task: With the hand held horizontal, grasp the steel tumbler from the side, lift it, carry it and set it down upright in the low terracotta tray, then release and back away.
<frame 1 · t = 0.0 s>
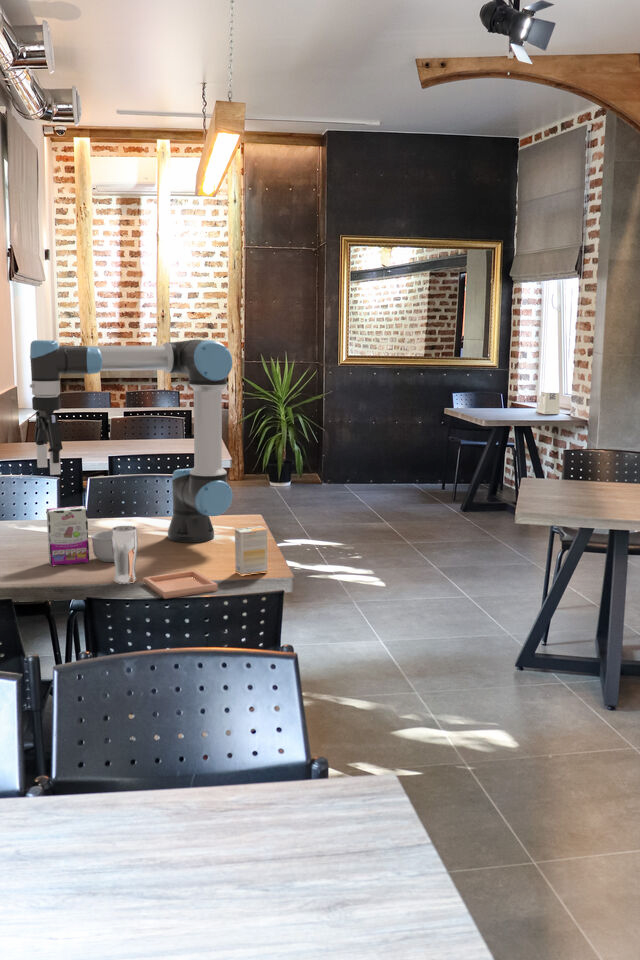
hand: (48, 470, 256), 28 cm above the table, tool pointing down, fingers open, 13 cm apart
supplement box: (251, 573, 257), on the table
candy bar box: (68, 563, 265), on the table
steel tumbler: (125, 582, 247), on the table
teacup: (113, 559, 271), on the table
tray: (180, 587, 243), on the table
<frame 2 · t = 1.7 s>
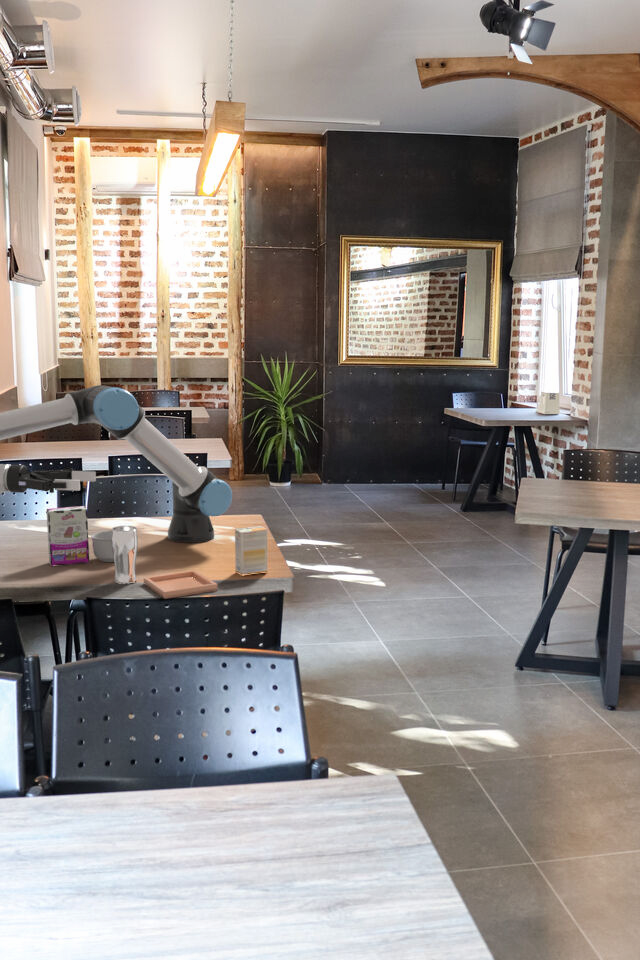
hand: (87, 480, 243), 28 cm above the table, tool horizontal, fingers open, 13 cm apart
nothing on the table moved.
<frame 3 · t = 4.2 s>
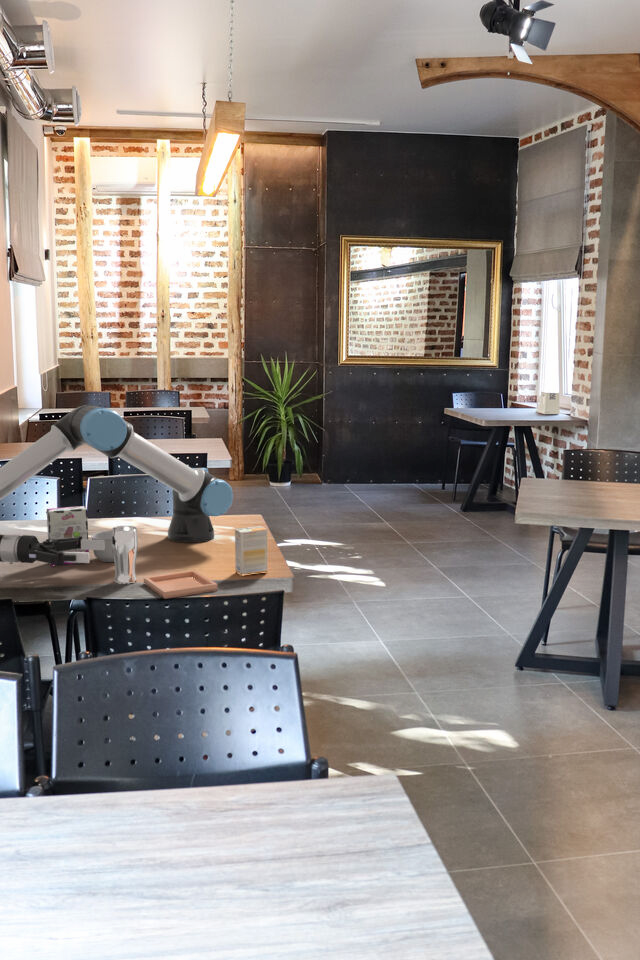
hand: (96, 551, 246), 8 cm above the table, tool horizontal, fingers open, 13 cm apart
nothing on the table moved.
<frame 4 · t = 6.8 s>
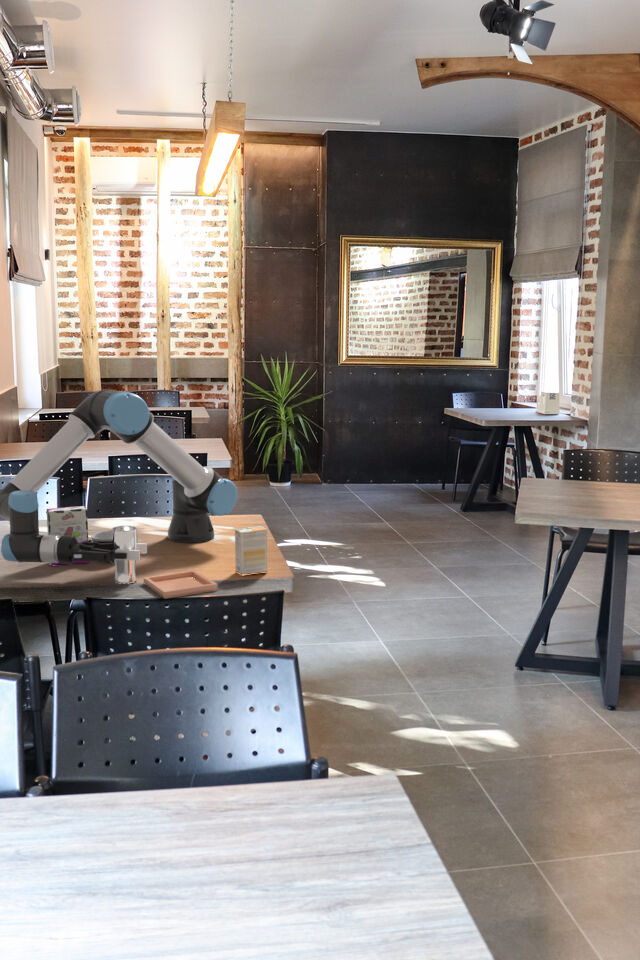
hand: (142, 551, 245), 9 cm above the table, tool horizontal, fingers closed on steel tumbler, 7 cm apart
steel tumbler: (125, 582, 247), on the table, touching gripper
everything else where it was.
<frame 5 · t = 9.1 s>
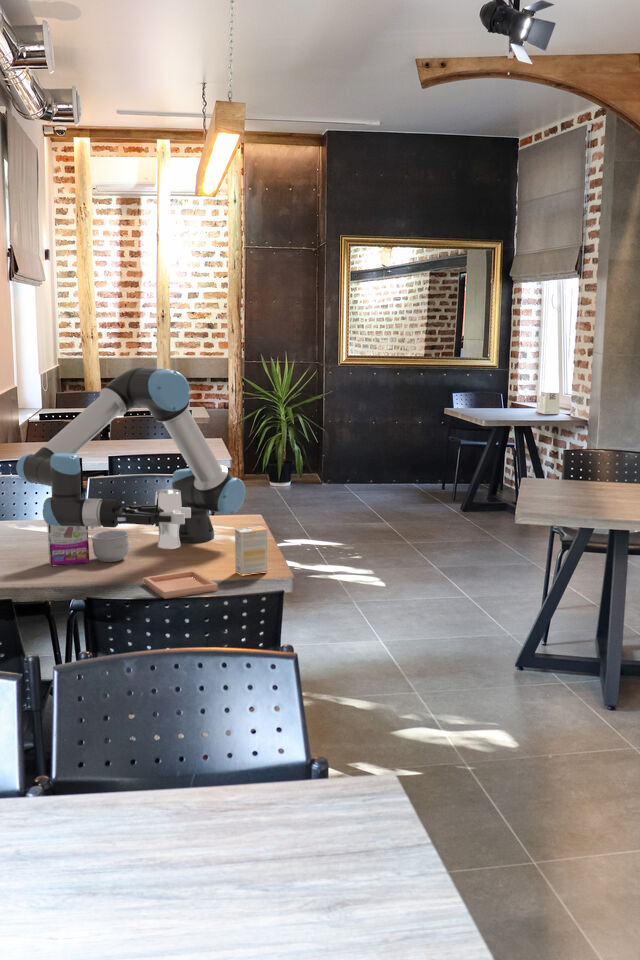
hand: (187, 515, 239), 20 cm above the table, tool horizontal, fingers closed on steel tumbler, 7 cm apart
steel tumbler: (169, 547, 241), point 11 cm above the table, touching gripper
everything else where it was.
when the fingers open (11 cm above the table, at t = 11.5 s): steel tumbler drops 1 cm, resting on tray.
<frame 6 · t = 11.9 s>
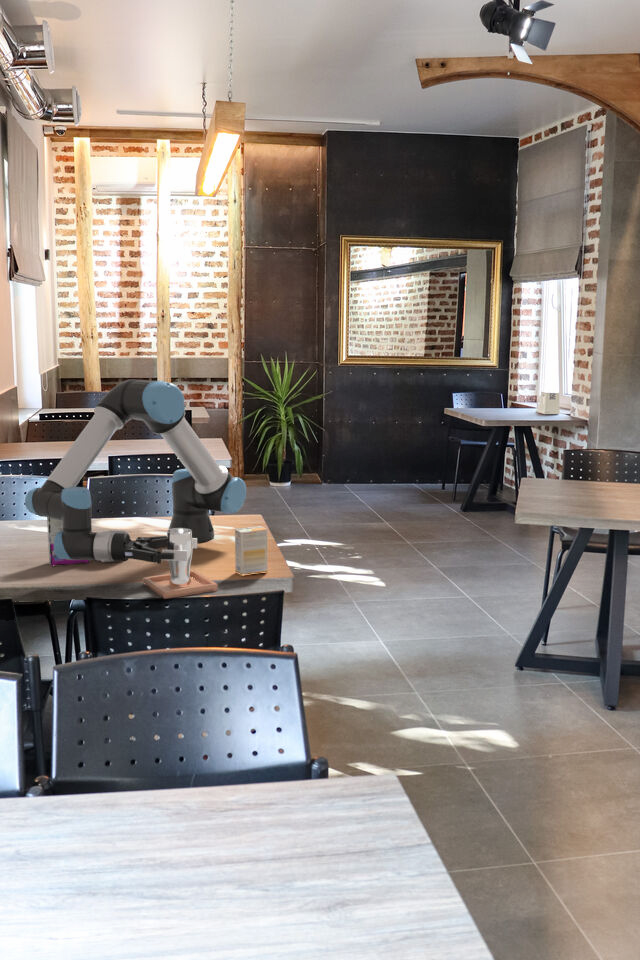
hand: (192, 549, 241), 11 cm above the table, tool horizontal, fingers open, 13 cm apart
steel tumbler: (180, 585, 243), resting on tray
everything else where it was.
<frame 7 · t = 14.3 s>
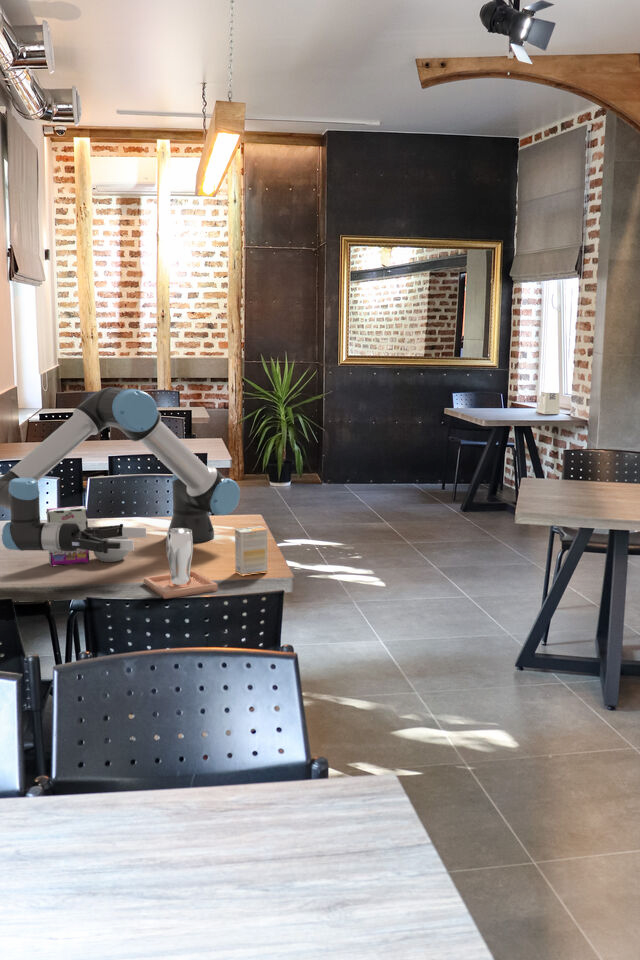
hand: (140, 538, 242), 13 cm above the table, tool horizontal, fingers open, 13 cm apart
nothing on the table moved.
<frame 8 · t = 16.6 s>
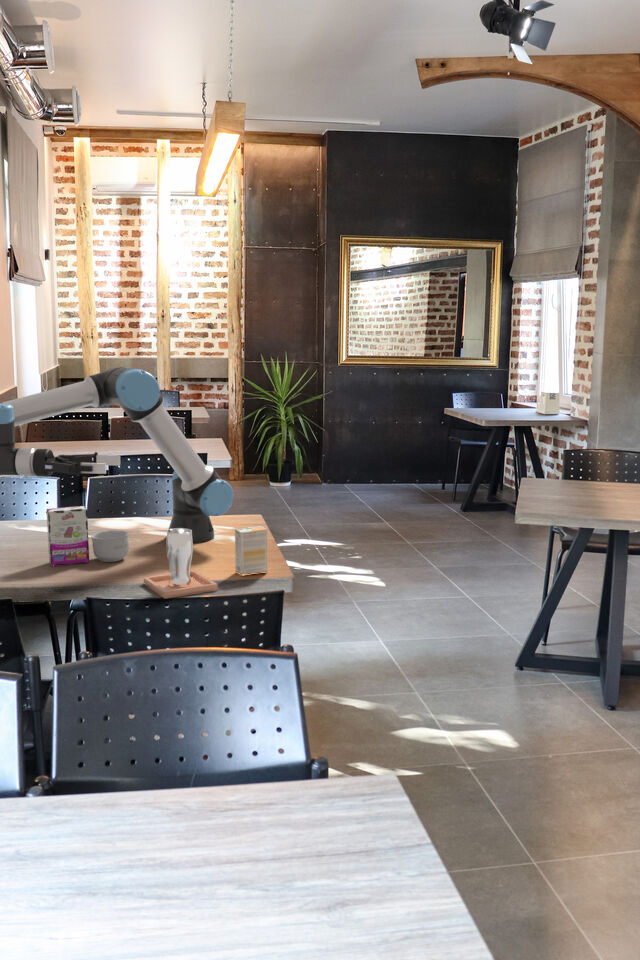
hand: (113, 464, 244), 32 cm above the table, tool horizontal, fingers open, 13 cm apart
nothing on the table moved.
at the end: steel tumbler 0.1 cm from the tray (horizontally); steel tumbler tilted 0°; the gripper is holding nothing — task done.
